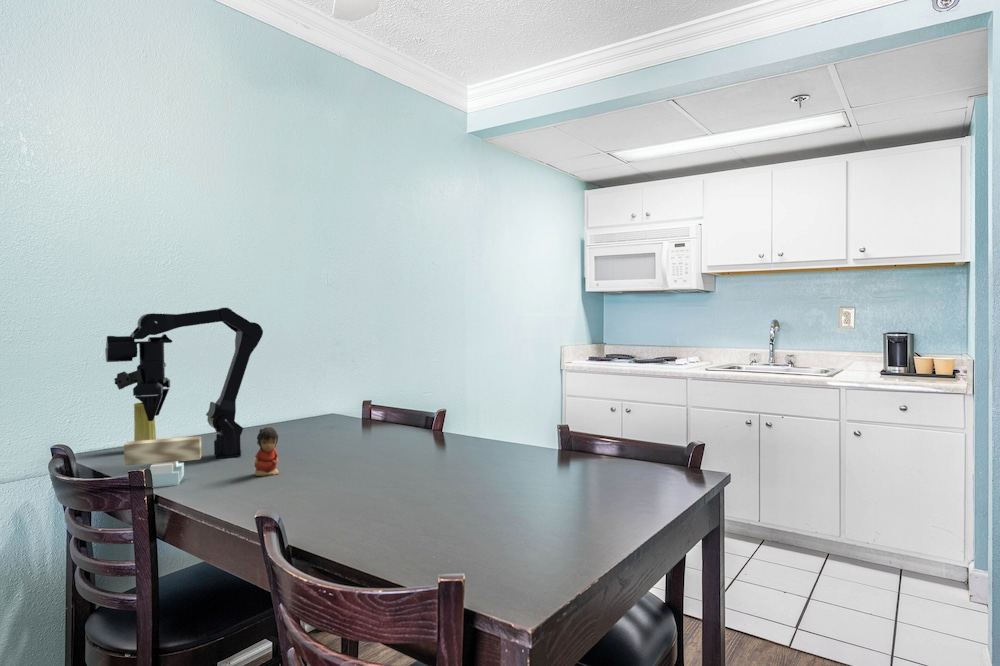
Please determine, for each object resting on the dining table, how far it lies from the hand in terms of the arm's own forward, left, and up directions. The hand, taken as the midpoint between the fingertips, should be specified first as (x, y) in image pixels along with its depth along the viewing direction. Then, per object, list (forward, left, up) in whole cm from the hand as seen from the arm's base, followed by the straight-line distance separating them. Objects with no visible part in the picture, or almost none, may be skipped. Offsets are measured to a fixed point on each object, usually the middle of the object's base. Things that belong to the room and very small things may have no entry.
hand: (153, 418), depth 158 cm
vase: (+6, -23, -13) cm, 28 cm away
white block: (-5, +18, -13) cm, 22 cm away
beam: (-5, +18, -8) cm, 20 cm away
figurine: (-28, +21, -13) cm, 37 cm away
